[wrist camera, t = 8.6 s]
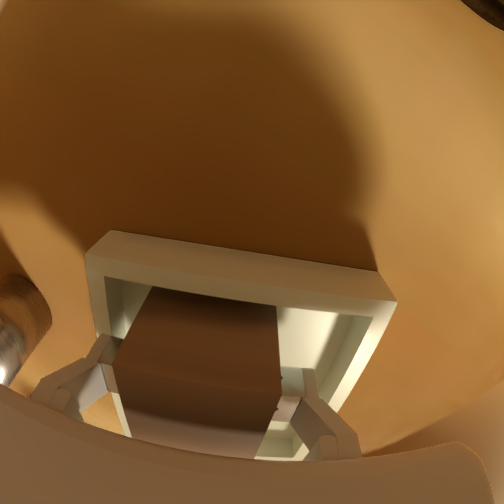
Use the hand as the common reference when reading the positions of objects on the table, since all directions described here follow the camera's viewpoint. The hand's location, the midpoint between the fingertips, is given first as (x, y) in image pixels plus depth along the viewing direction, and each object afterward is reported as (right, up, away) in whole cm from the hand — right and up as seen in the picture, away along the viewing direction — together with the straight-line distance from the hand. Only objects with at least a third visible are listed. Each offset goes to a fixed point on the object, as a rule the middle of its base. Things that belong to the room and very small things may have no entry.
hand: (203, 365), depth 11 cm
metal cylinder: (-12, +1, +3) cm, 13 cm away
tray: (+1, -2, +4) cm, 4 cm away
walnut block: (0, +1, +2) cm, 2 cm away
